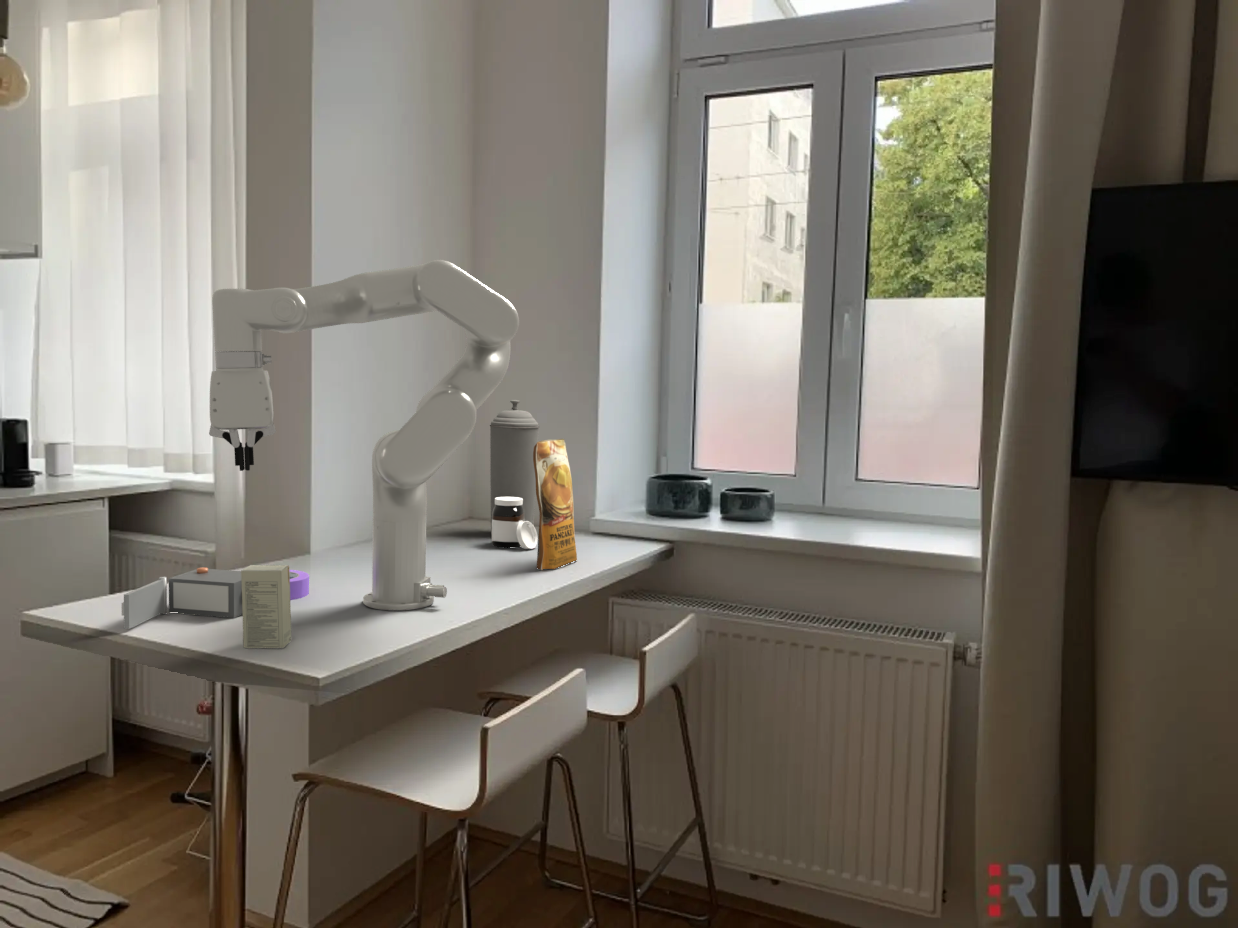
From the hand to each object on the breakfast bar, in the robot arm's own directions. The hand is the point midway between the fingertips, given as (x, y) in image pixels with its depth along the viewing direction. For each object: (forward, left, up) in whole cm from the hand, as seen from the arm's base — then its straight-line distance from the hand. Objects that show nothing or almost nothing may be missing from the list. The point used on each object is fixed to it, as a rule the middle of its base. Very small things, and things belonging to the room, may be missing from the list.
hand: (244, 469), depth 171 cm
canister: (-23, -90, -25) cm, 97 cm away
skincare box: (-14, +19, -25) cm, 34 cm away
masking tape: (+1, -12, -25) cm, 28 cm away
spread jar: (-28, -74, -25) cm, 83 cm away
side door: (+11, +12, -25) cm, 29 cm away
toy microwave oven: (+5, +1, -25) cm, 25 cm away
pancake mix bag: (-42, -56, -25) cm, 75 cm away
